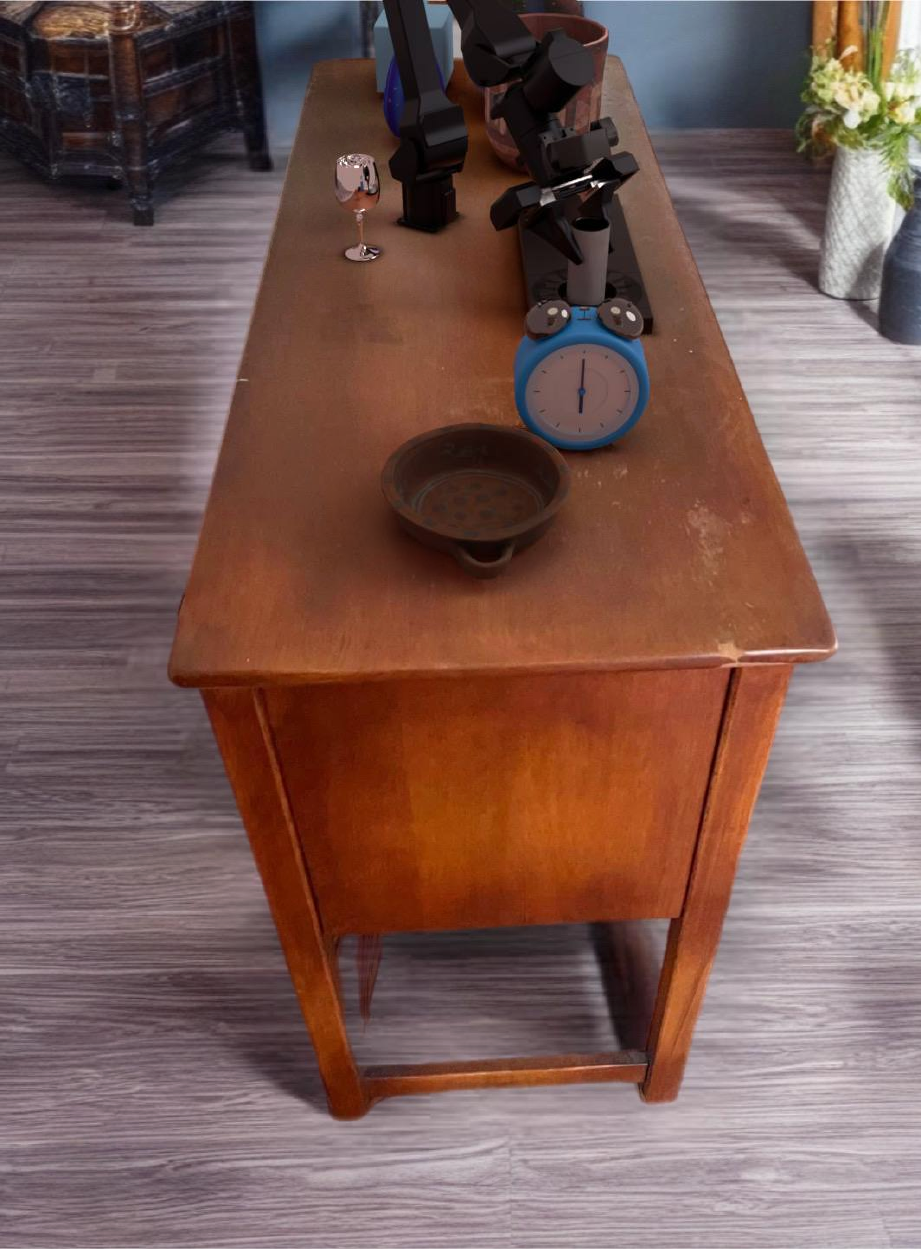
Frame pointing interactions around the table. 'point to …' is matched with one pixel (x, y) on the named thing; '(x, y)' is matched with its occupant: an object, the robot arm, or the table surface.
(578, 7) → the decorative sphere
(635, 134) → the table surface
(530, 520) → the dish
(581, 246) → the planter
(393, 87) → the ornament
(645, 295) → the plant stand
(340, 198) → the wineglass
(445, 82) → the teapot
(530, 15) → the pottery
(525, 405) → the alarm clock
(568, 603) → the table surface
